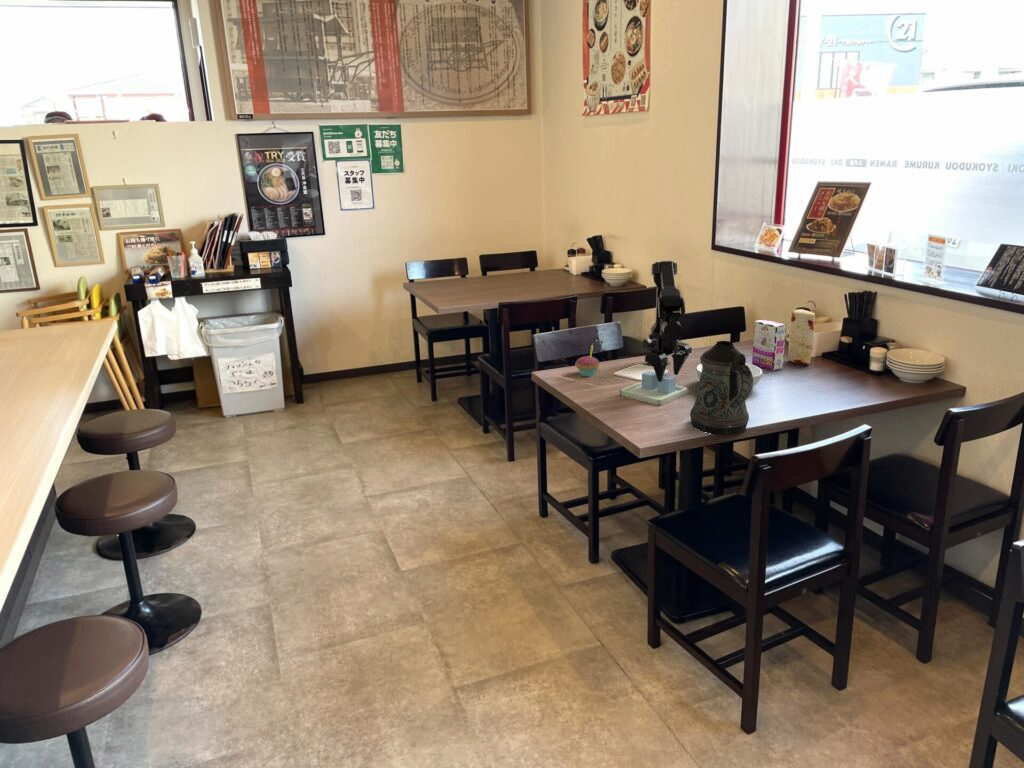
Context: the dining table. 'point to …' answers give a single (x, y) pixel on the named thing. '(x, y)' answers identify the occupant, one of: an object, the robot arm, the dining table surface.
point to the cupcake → (587, 364)
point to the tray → (652, 394)
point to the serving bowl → (754, 369)
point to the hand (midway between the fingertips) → (667, 378)
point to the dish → (635, 372)
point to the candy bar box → (769, 344)
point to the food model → (801, 336)
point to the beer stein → (722, 391)
